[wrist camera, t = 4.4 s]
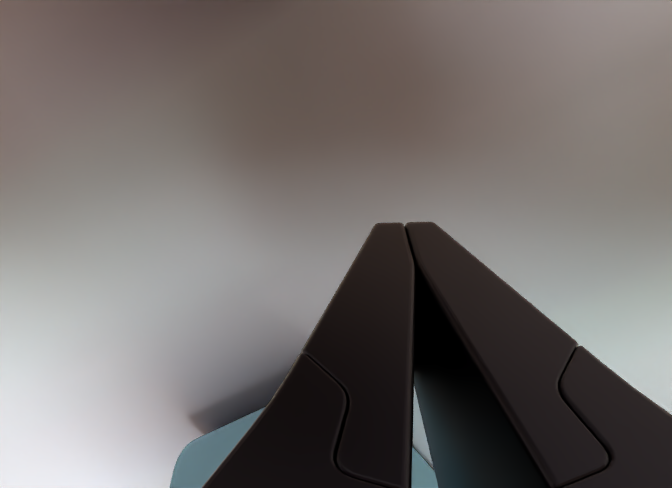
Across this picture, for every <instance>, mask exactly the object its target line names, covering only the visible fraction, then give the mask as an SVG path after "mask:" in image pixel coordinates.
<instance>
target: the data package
mask: <svg viewBox="0 0 672 488" xmlns="http://www.w3.org/2000/svg"><path fill="white" fill-rule="evenodd" d="M264 408H265V407H264ZM264 408H262V409H260V410H258V411H255V412H253V413H251V414H249V415H247V416H245V417H242V418H240V419H238V420H236V421H234V422H232V423H229V424H227V425H225V426H223V427H221V428H219V429H216V430H214V431H212V432H210V433H208V434H206V435H203V436H201V437H199V438H197V439H195V440H193V441H192V442H190V443H189V444H188V445H187V446H186V447H185V448H184V449H183V451H182V452H181V454H180V455H179V457H178V459H177V462H176V464H175V467H174V471H173V475H172V480H171V484H170V488H201V487H202V486H203V485H204V484H205V483H206V481H207V480H208V479H209V478H210V476H211V475H212V474H213V473H214V471H215V470H216V469H217V468H218V466H219V465H220V464H221V463H222V462H223V460H224V459H225V458H226V457H227V455H228V454H229V453H230V452H231V450H232V449H233V448H234V447H235V445H236V444H237V443H238V442H239V440H240V439H241V438H242V437H243V436H244V434H245V433H246V432H247V431H248V429H249V428H250V427H251V425H252V424H253V423H254V422H255V420H256V419H257V418H258V416H259V415H260V414H261V412H262V411H263V410H264ZM412 488H438V484H437V479H436V475H435V471H434V470H433V469H432V468H431V467H430V466H429V465H428V463H427V462H426V461H425V460H424V459H423V458H422V457H421V456H420V455H419V453H418V452H417V451H416V450H415V449H414V448H413V447H412Z"/></svg>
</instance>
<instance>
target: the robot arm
mask: <svg viewBox="0 0 672 488" xmlns="http://www.w3.org/2000/svg"><path fill="white" fill-rule="evenodd" d="M414 386H415V390H416V395H417V399H418V403H419V407H420V412H421V416H422V420H423V424H424V428H425V433H426V437H427V441H428V445H429V450H430V454H431V458H432V462H433V467H434V471H435V475H436V479H437V484H438V488H672V415H671V414H670V413H668V412H667V411H665V410H664V409H663V408H661V407H660V406H658V405H657V404H656V403H654V402H653V401H652V400H650V399H649V398H647V397H646V396H645V395H643V394H642V393H640V392H639V391H638V390H636V389H635V388H633V387H632V386H631V385H630V384H628V383H627V382H626V381H625V380H623V379H622V378H621V377H620V376H618V375H617V374H616V373H615V372H613V371H612V370H611V369H609V368H608V367H607V366H606V365H604V364H603V363H602V362H601V361H599V360H598V359H597V358H596V357H595V356H593V355H592V354H591V353H590V352H589V351H587V350H586V349H585V348H584V347H583V346H578V343H577V342H576V341H575V340H574V339H573V338H572V337H570V336H569V335H568V334H567V333H566V332H564V331H563V330H562V329H561V328H560V327H558V326H557V325H556V324H555V323H554V322H552V321H551V320H550V319H549V318H548V317H546V316H545V315H544V314H543V313H542V312H540V311H539V310H538V309H537V308H536V307H534V306H533V305H532V304H531V303H530V302H528V301H527V300H526V299H525V298H524V297H522V296H521V295H520V294H519V293H518V292H517V291H515V290H514V289H513V288H512V287H511V286H509V285H508V284H507V283H506V282H505V281H503V280H502V279H501V278H500V277H499V276H497V275H496V274H495V273H494V272H493V271H491V270H490V269H489V268H488V267H487V266H485V265H484V264H483V263H482V262H481V261H479V260H478V259H477V258H476V257H475V256H473V255H472V254H471V253H470V252H469V251H467V250H466V249H465V248H464V247H463V246H461V245H460V244H459V243H458V242H457V241H455V240H454V239H453V238H452V237H451V236H449V235H448V234H447V233H446V232H445V231H443V230H442V229H441V228H440V227H439V226H437V225H436V224H435V223H433V222H409V223H407V224H406V225H405V227H404V225H403V224H402V223H377V224H376V225H375V226H374V227H373V229H372V231H371V232H370V234H369V236H368V237H367V239H366V241H365V243H364V244H363V246H362V248H361V249H360V251H359V253H358V255H357V256H356V258H355V260H354V261H353V263H352V265H351V267H350V268H349V270H348V272H347V273H346V275H345V277H344V279H343V280H342V282H341V284H340V285H339V287H338V289H337V291H336V292H335V294H334V296H333V297H332V299H331V301H330V303H329V304H328V306H327V308H326V310H325V311H324V313H323V315H322V316H321V318H320V320H319V322H318V323H317V325H316V327H315V328H314V330H313V332H312V334H311V335H310V337H309V339H308V340H307V342H306V344H305V346H304V347H303V349H302V351H301V354H299V355H298V357H297V359H296V361H295V362H294V364H293V366H292V367H291V369H290V371H289V373H288V374H287V376H286V377H285V379H284V380H283V382H282V383H281V385H280V387H279V388H278V390H277V391H276V393H275V394H274V396H273V397H272V399H271V400H270V402H269V403H268V404H267V406H266V407H265V408H264V410H263V411H262V412H261V414H260V415H259V416H258V418H257V419H256V420H255V422H254V423H253V424H252V425H251V427H250V428H249V429H248V431H247V432H246V433H245V434H244V436H243V437H242V438H241V439H240V440H239V442H238V443H237V444H236V445H235V447H234V448H233V449H232V450H231V452H230V453H229V454H228V455H227V457H226V458H225V459H224V460H223V462H222V463H221V464H220V465H219V466H218V468H217V469H216V470H215V471H214V473H213V474H212V475H211V476H210V478H209V479H208V480H207V481H206V483H205V484H204V485H203V486H202V487H201V488H412V443H413V398H414Z"/></svg>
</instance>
